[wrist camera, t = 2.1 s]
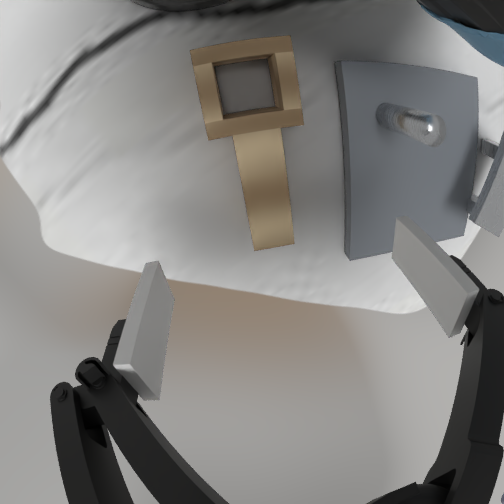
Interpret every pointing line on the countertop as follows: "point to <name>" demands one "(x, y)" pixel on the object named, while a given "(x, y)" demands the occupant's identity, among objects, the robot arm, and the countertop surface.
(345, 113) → the base plate
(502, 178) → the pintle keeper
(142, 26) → the countertop surface
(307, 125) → the countertop surface
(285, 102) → the link
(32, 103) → the countertop surface
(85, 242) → the countertop surface
